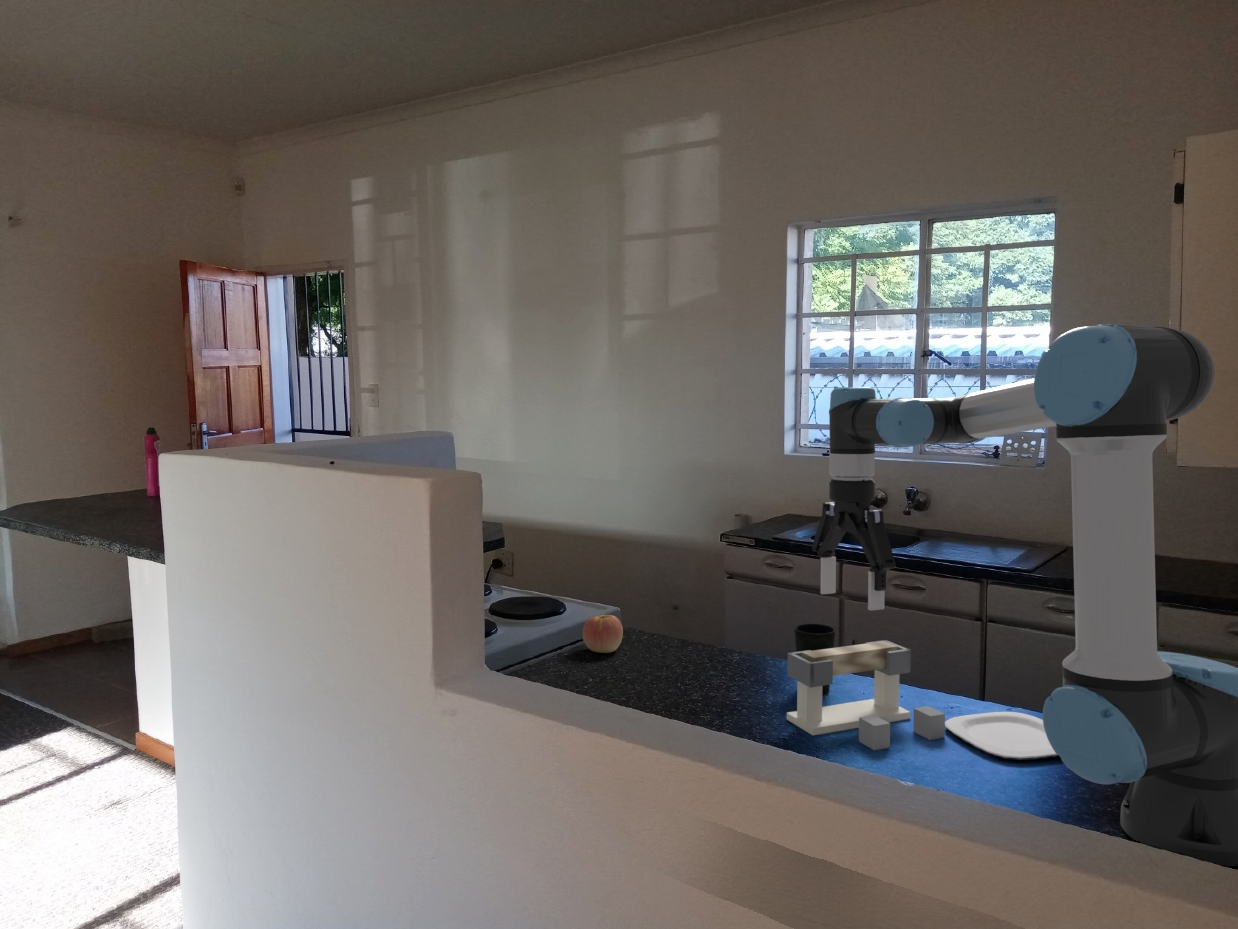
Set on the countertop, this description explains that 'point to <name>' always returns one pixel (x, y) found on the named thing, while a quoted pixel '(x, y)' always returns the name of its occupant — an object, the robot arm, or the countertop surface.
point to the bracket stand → (847, 714)
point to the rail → (853, 657)
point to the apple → (603, 633)
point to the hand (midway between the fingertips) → (851, 601)
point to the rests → (925, 724)
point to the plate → (1003, 734)
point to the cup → (814, 640)
